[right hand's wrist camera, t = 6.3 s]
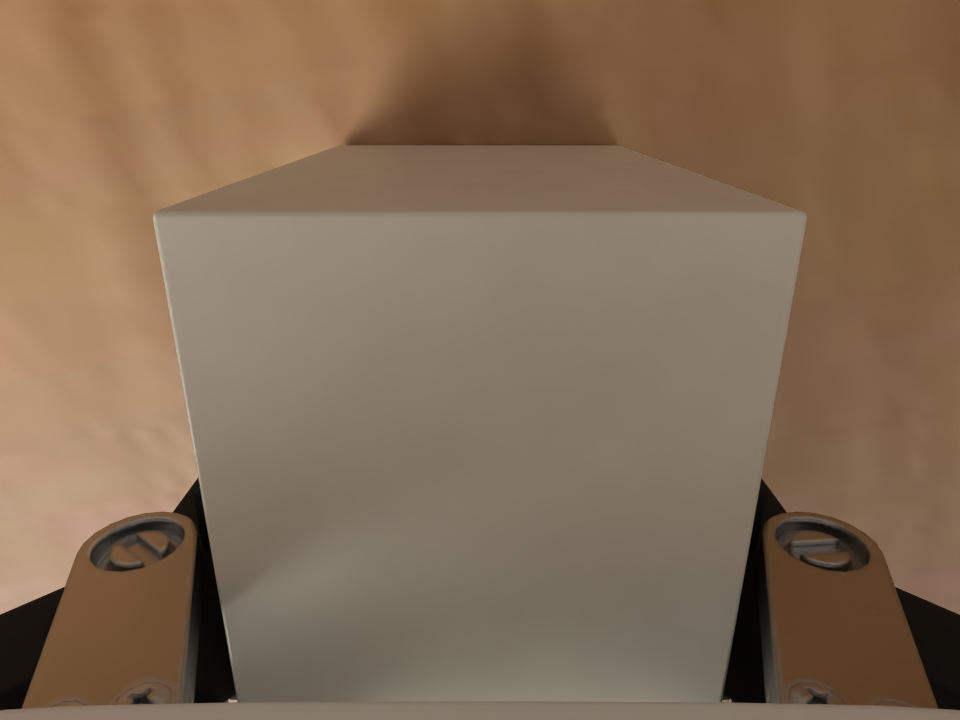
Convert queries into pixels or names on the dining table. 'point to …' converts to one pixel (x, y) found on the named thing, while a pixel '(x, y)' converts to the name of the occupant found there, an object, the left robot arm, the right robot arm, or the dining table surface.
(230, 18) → the dining table surface
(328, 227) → the bar
